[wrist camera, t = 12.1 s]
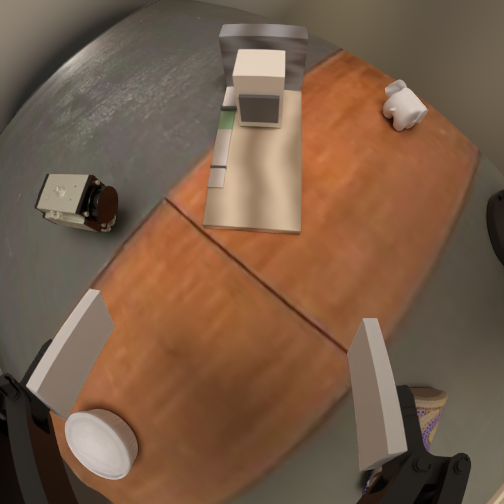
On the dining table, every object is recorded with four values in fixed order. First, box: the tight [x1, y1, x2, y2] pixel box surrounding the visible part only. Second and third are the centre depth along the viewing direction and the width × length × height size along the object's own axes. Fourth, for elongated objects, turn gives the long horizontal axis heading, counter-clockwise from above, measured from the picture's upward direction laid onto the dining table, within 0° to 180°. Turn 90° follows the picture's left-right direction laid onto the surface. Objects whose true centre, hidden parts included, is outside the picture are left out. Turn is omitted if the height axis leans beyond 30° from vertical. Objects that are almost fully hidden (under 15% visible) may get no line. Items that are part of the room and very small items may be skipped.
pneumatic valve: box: [35, 174, 118, 232], centre depth 30 cm, size 6×12×12 cm, turn 80°
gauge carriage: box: [221, 49, 285, 128], centre depth 32 cm, size 9×8×10 cm
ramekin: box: [65, 409, 138, 479], centre depth 26 cm, size 11×11×5 cm
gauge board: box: [203, 24, 308, 235], centre depth 31 cm, size 12×28×12 cm, turn 175°
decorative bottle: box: [362, 387, 448, 495], centre depth 23 cm, size 26×8×7 cm, turn 169°
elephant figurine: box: [383, 80, 429, 131], centre depth 34 cm, size 8×10×7 cm
